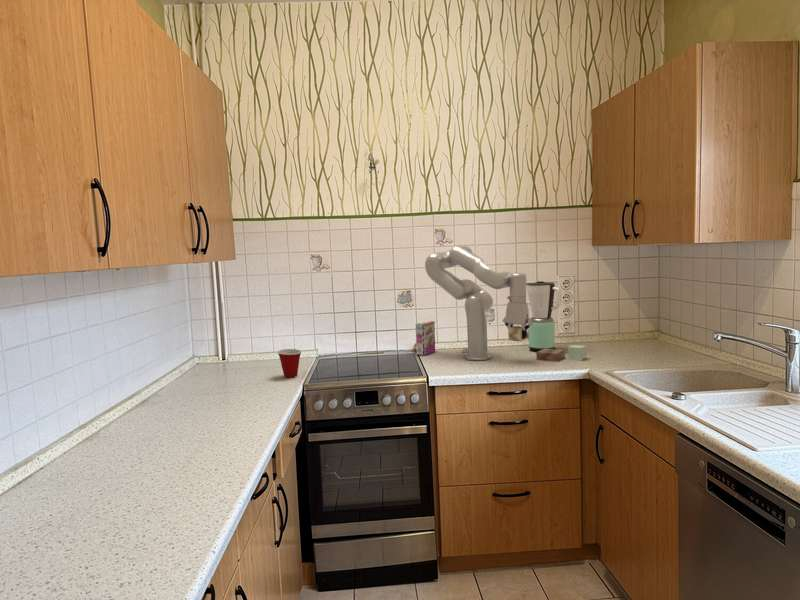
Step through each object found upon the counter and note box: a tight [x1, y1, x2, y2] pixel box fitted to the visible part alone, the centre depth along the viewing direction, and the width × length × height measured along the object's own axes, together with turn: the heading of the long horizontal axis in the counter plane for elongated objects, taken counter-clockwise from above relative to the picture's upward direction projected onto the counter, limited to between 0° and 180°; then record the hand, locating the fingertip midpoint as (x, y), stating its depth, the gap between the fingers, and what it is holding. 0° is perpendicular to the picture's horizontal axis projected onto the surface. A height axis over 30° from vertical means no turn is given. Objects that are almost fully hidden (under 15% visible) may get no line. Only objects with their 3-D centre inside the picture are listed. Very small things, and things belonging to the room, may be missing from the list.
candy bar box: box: [415, 320, 436, 356], centre depth 307 cm, size 11×5×16 cm, turn 144°
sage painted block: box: [567, 344, 587, 362], centre depth 279 cm, size 6×6×6 cm
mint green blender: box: [526, 280, 562, 352], centre depth 301 cm, size 19×13×35 cm
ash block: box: [508, 325, 527, 343], centre depth 279 cm, size 6×6×6 cm
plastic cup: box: [277, 348, 303, 378], centre depth 269 cm, size 11×11×12 cm
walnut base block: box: [535, 348, 566, 363], centre depth 282 cm, size 10×10×4 cm
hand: (517, 337), depth 279 cm, fingers closed on ash block, 6 cm apart
